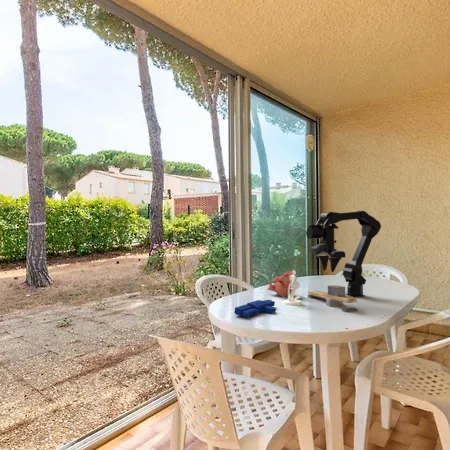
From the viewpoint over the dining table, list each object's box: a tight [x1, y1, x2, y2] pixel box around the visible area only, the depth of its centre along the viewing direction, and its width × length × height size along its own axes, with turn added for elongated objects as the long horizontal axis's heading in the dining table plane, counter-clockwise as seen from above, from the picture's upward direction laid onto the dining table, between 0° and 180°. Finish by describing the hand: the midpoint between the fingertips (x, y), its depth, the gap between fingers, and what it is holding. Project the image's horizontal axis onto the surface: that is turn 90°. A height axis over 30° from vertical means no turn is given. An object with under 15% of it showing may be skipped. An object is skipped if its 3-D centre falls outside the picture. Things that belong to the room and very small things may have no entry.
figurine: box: [282, 269, 303, 307], centre depth 154 cm, size 9×9×15 cm
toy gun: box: [233, 299, 277, 318], centre depth 139 cm, size 4×22×10 cm
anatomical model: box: [266, 270, 297, 297], centre depth 170 cm, size 10×12×15 cm
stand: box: [307, 294, 359, 313], centre depth 152 cm, size 7×29×2 cm, turn 17°
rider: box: [327, 285, 347, 297], centre depth 148 cm, size 4×7×4 cm, turn 17°
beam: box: [307, 290, 358, 304], centre depth 152 cm, size 5×30×2 cm, turn 17°
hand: (328, 271), depth 162 cm, fingers open, 6 cm apart
